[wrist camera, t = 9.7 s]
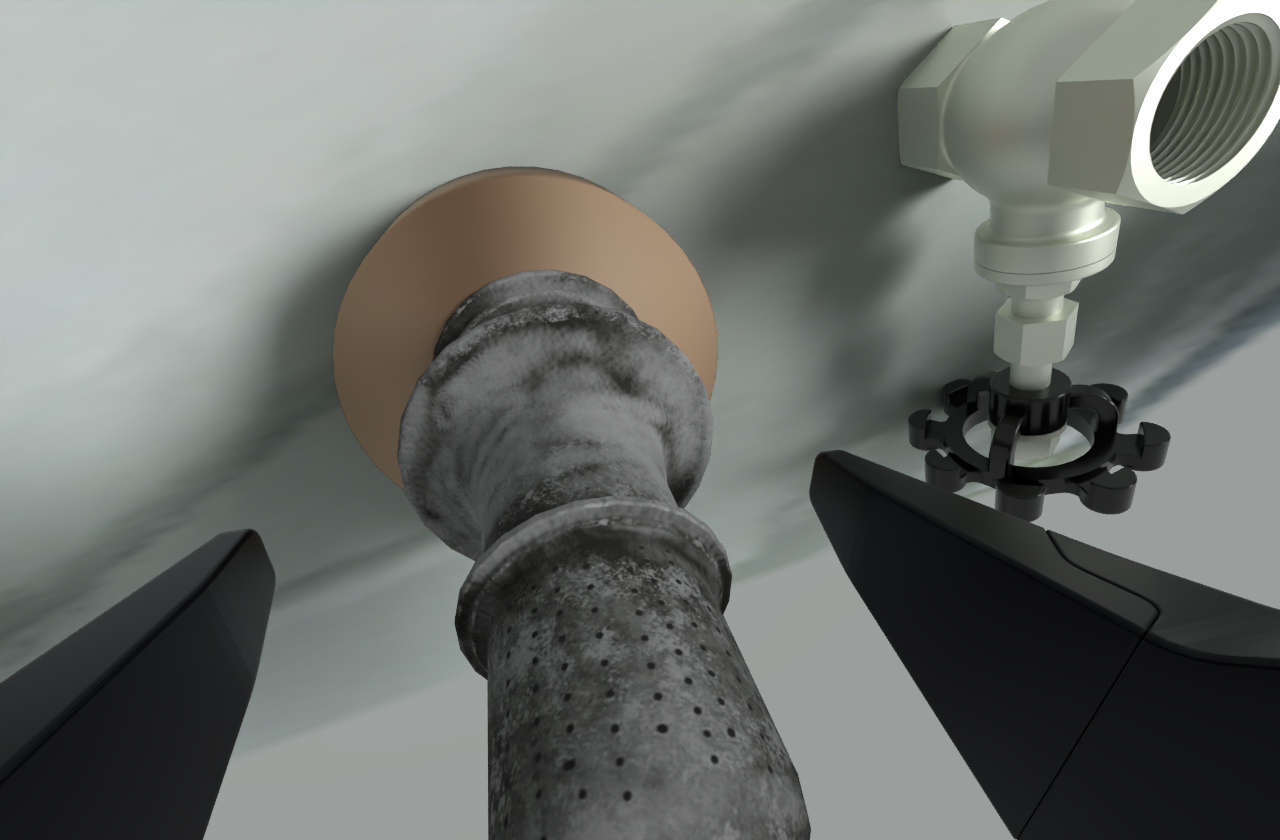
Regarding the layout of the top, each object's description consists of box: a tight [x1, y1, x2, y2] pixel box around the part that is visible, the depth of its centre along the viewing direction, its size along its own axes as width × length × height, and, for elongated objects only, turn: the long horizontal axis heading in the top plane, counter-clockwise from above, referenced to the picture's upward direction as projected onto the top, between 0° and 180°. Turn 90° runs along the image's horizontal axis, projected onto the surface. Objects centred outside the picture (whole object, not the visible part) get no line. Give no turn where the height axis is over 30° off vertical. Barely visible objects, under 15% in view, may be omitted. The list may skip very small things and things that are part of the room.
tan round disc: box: [333, 167, 718, 491], centre depth 15 cm, size 9×9×2 cm
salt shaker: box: [397, 269, 811, 840], centre depth 9 cm, size 6×6×12 cm
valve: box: [897, 0, 1280, 522], centre depth 15 cm, size 7×7×12 cm
